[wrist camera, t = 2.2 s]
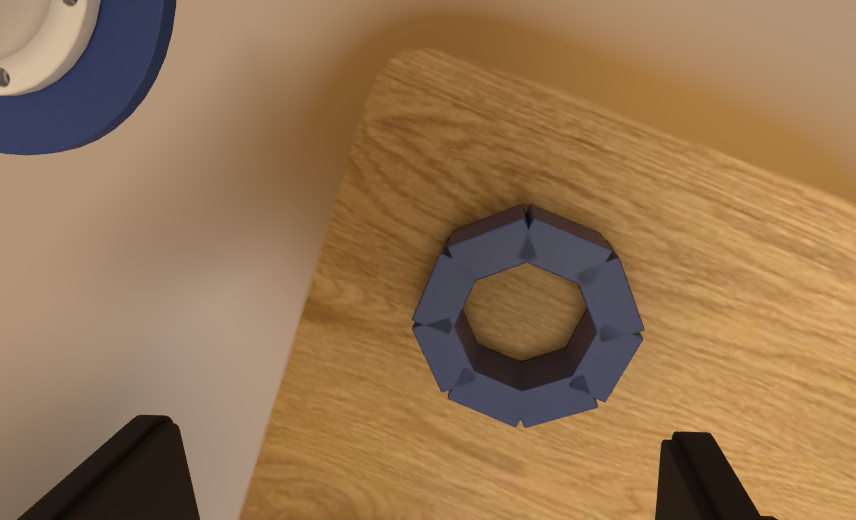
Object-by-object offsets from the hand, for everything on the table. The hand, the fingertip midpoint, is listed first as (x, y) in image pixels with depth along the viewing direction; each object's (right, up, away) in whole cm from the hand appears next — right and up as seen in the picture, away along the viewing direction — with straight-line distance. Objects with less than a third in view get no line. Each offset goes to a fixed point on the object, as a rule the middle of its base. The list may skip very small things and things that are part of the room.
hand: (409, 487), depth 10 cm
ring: (+5, +2, +17) cm, 18 cm away
